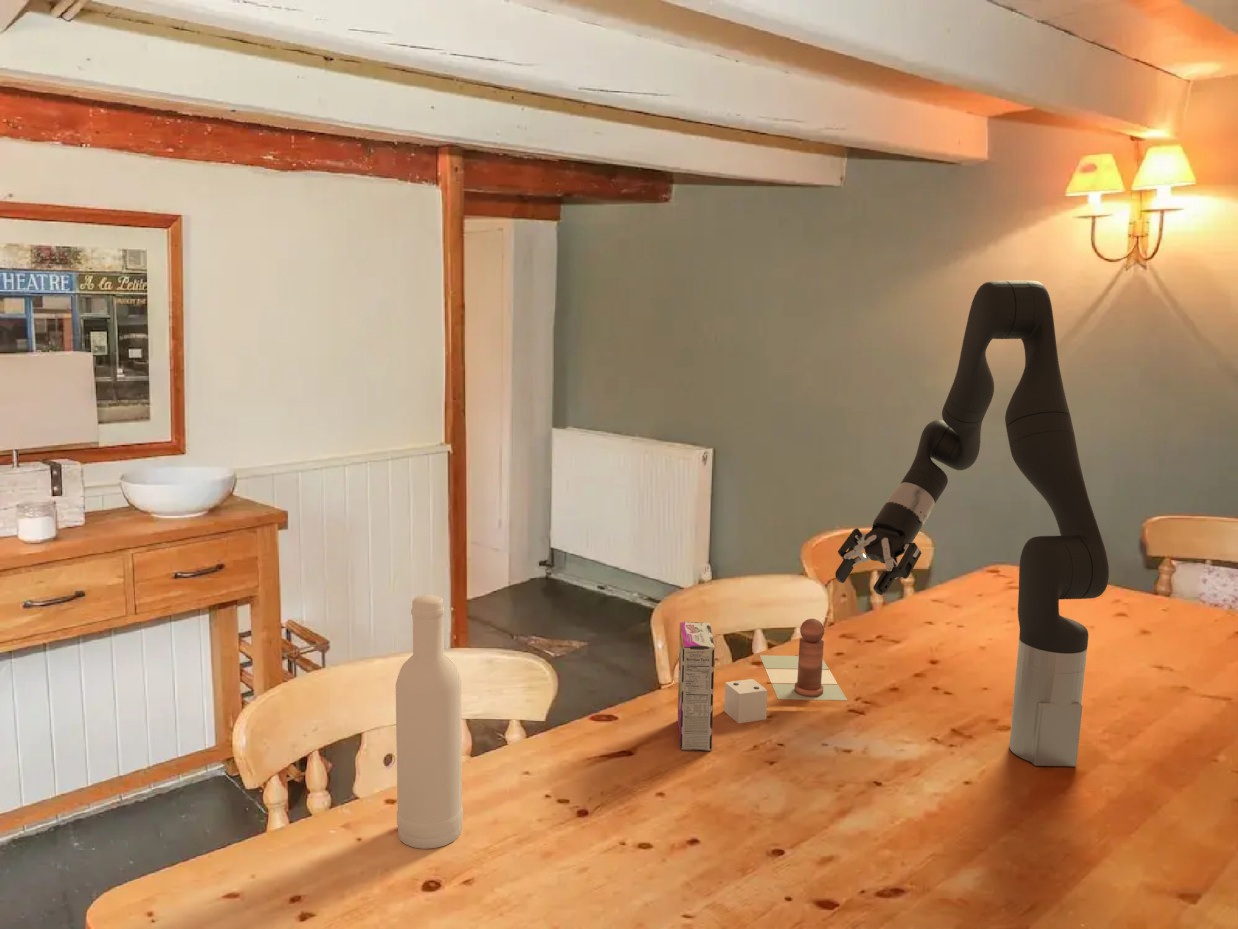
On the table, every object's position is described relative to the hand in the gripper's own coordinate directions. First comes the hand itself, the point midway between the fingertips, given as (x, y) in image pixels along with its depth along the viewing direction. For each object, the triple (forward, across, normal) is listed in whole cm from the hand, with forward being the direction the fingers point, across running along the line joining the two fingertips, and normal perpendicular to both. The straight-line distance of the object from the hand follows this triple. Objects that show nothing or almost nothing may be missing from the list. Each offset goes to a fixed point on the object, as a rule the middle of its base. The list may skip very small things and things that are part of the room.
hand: (857, 586), depth 170 cm
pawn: (+20, 0, +4) cm, 20 cm away
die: (+30, 0, -6) cm, 31 cm away
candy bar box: (+39, +1, -14) cm, 41 cm away
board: (+17, -6, +8) cm, 20 cm away
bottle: (+71, +5, -46) cm, 85 cm away
